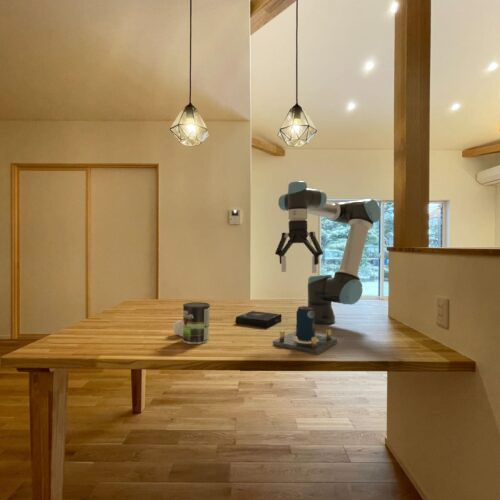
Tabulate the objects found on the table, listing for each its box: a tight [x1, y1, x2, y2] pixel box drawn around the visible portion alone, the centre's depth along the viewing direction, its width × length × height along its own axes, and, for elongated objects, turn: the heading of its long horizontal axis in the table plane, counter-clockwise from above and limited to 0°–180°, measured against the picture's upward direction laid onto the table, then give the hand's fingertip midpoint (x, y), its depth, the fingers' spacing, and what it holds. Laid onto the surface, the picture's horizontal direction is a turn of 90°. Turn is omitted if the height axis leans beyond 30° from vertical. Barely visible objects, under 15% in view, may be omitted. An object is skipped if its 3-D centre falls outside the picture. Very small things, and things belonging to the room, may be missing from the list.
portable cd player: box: [234, 310, 282, 329], centre depth 155 cm, size 16×17×4 cm
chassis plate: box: [272, 328, 338, 355], centre depth 120 cm, size 18×18×5 cm
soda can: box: [295, 305, 316, 341], centre depth 120 cm, size 7×7×12 cm
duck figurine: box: [172, 311, 183, 337], centre depth 133 cm, size 12×8×11 cm
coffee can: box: [182, 301, 211, 345], centre depth 124 cm, size 10×10×14 cm
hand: (298, 272), depth 130 cm, fingers open, 13 cm apart
